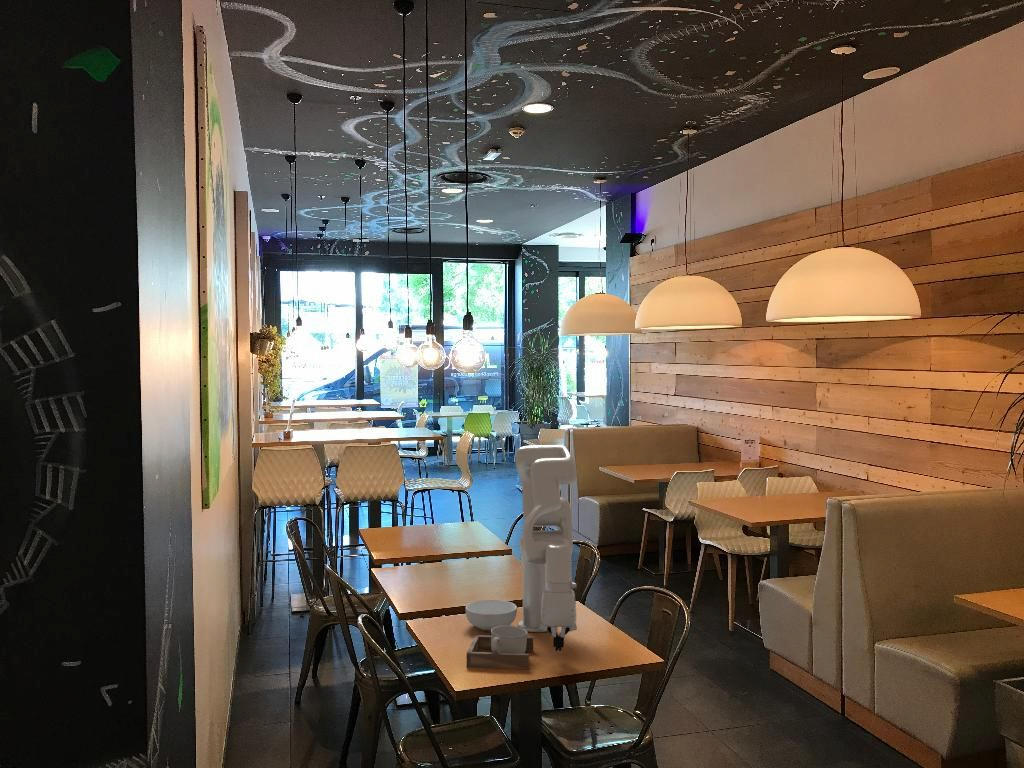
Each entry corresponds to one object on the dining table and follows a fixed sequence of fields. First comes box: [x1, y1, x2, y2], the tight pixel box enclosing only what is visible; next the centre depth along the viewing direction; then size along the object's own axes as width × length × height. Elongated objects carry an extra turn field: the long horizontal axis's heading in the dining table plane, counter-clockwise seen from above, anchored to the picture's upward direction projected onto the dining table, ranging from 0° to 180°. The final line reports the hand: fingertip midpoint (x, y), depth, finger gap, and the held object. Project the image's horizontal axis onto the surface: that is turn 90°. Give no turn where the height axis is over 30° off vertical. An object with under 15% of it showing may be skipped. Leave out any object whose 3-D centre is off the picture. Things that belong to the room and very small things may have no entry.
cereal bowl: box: [465, 599, 518, 631], centre depth 271 cm, size 17×17×7 cm
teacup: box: [490, 625, 529, 654], centre depth 241 cm, size 14×11×8 cm
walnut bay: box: [466, 634, 534, 670], centre depth 241 cm, size 16×18×4 cm
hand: (558, 649), depth 239 cm, fingers closed
